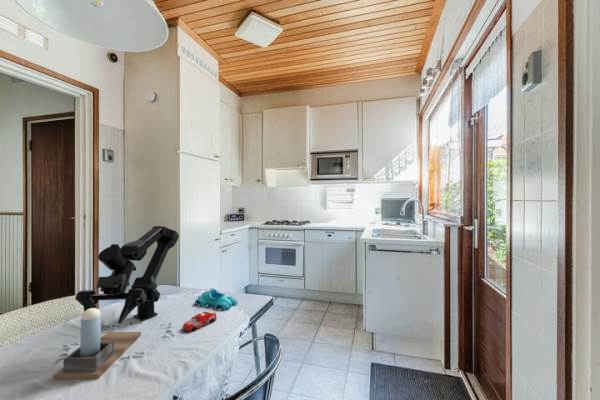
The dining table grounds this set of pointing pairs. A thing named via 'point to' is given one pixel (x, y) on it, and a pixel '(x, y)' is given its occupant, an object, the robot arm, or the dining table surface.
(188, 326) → the race car
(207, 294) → the toy car
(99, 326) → the post
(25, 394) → the dining table surface
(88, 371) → the board
